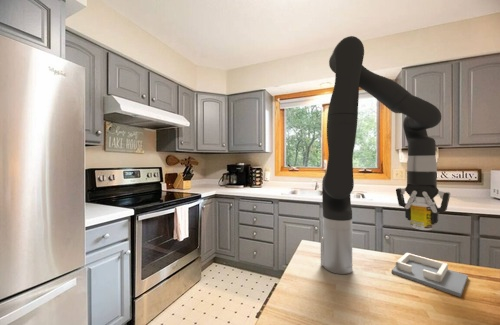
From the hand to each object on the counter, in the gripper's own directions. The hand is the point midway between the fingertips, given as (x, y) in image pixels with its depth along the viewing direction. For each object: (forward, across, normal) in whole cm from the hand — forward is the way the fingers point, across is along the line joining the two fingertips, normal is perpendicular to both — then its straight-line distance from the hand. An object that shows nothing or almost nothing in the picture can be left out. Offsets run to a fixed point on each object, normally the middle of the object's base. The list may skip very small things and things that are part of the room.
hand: (421, 221), depth 69 cm
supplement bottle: (+2, 0, 0) cm, 2 cm away
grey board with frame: (+16, +2, -1) cm, 17 cm away
